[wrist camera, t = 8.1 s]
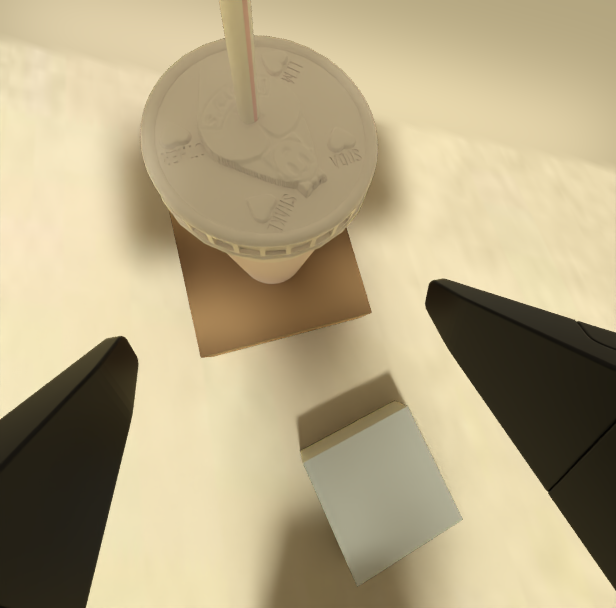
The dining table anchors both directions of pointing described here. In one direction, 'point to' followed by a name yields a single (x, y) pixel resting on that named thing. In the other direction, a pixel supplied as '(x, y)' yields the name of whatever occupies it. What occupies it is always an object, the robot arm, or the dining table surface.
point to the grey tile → (379, 489)
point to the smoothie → (259, 147)
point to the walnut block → (266, 295)
